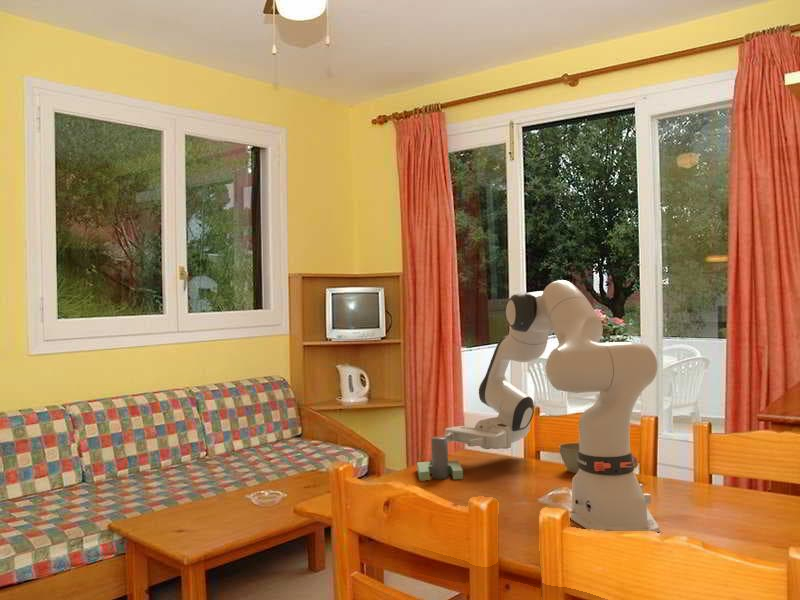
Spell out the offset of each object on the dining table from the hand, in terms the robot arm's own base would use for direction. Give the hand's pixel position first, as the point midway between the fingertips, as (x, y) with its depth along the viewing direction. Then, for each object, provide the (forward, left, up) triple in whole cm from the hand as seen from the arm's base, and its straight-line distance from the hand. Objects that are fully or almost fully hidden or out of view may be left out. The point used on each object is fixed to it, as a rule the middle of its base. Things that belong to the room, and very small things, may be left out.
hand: (457, 441), depth 208 cm
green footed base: (-2, +6, -9) cm, 11 cm away
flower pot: (-5, -33, -9) cm, 35 cm away
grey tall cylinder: (-5, +6, -9) cm, 12 cm away
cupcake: (-15, -42, -9) cm, 46 cm away
